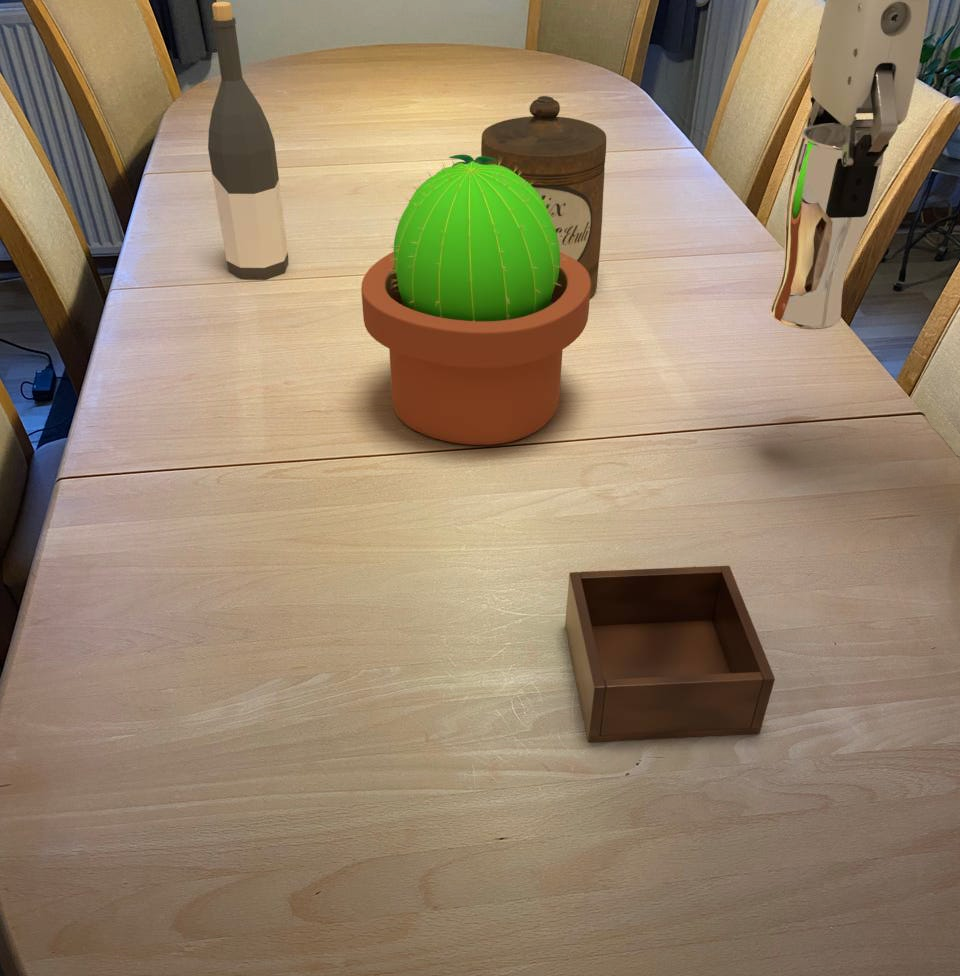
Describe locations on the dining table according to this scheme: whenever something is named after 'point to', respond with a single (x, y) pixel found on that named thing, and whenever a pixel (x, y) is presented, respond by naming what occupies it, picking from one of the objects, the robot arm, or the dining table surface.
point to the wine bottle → (244, 166)
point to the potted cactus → (476, 306)
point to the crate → (665, 654)
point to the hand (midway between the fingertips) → (830, 197)
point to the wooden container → (558, 173)
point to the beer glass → (816, 234)
